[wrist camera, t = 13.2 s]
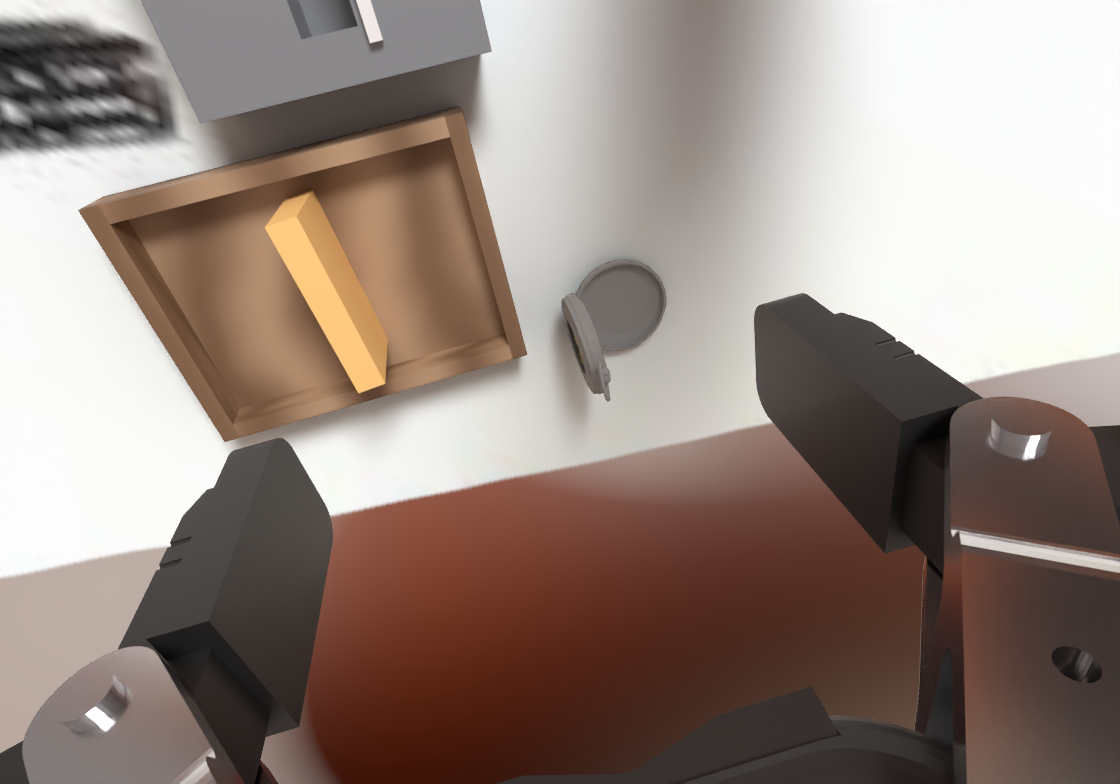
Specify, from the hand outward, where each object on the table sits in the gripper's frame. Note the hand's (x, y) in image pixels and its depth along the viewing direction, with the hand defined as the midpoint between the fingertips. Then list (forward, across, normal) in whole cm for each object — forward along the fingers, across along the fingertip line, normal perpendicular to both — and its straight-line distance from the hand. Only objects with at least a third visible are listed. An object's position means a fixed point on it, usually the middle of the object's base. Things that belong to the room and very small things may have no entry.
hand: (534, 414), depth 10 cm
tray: (+30, +10, +6) cm, 32 cm away
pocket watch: (+30, -6, +13) cm, 34 cm away
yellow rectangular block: (+26, +10, +1) cm, 27 cm away
